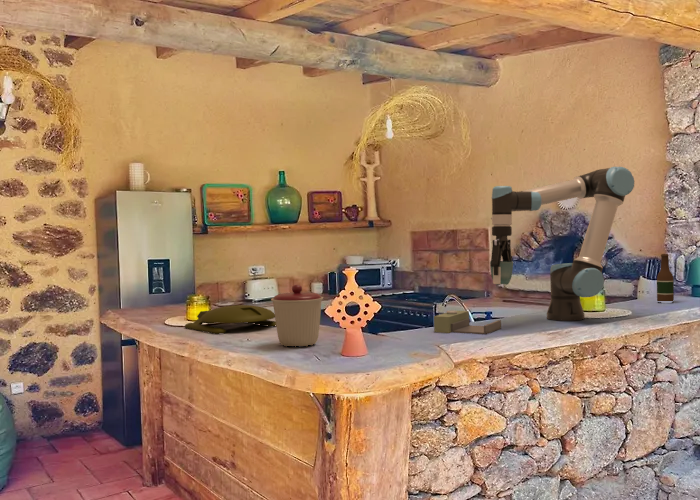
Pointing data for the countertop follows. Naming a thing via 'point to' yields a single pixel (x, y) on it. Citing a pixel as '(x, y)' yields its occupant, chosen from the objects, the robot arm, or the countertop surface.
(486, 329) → the chute
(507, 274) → the flower pot
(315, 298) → the canister
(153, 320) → the countertop surface
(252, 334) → the countertop surface
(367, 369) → the countertop surface
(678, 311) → the countertop surface
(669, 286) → the beer bottle
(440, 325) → the olive stepped block
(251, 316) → the spaceship
